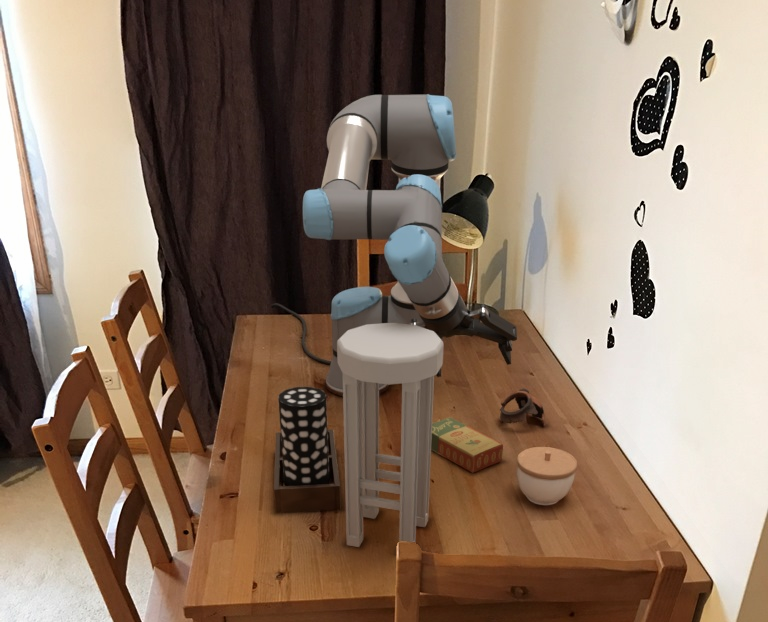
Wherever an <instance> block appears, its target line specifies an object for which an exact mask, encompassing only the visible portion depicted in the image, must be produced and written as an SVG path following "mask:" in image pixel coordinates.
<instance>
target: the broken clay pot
mask: <svg viewBox="0 0 768 622" xmlns="http://www.w3.org/2000/svg"><path fill="white" fill-rule="evenodd" d="M513 400H515V402H516V404H517V406H518V410H514V411H507V410H505V407H506V406H507V405H508V404H509V403H510V402H511V401H513ZM500 405H501V407H500V408H499V411H500V414H499V420H500V422H501V423H507V424H517V423H520V422H523V423H525V424H526V423H527V422H528V421H527V414H528V415H531V417H532V418H539V419H540V420H541V422H542V427H544V428H545V427H546V414H545V412H544V411H545V409H544V407H543V404H542V403H541V401H540V400H539V399H538V398H537V397H535V396H533V395H531V394H530V391H529V390H528V388H525V387H523V388H520V389H519V390H518V391H514V392H511V393H510V394H508V395H506V396H505V397H504V398H503V399H502V401H501V402H500Z"/></svg>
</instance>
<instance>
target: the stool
mask: <svg viewBox="0 0 768 622" xmlns="http://www.w3.org/2000/svg"><path fill="white" fill-rule="evenodd" d="M444 347H445V345H444V341H443V339H442V340H441V339H440V338H439V337H438V335H437V334H436V333H435V332H434V331H431V330H428V329H425V328H422V327H419V326H417V325H409V324H400V323H380V324H367V325H364V326H360V327H357V328H354V329H350V330H348V331H347V332H346V333H345V334H344V335H343V336H342V337H341V338H340V339H339V340H338V341H337V360H338V365H339V367H340V369H341V371H342V373H343V396H342V403H343V404H342V405H343V407H342V409H343V410H342V411H343V442H344V443H343V447H344V448H343V449H344V452H343V453H344V487H345V493H344V494H345V530H346V533H345V534H346V535H345V537H346V546H351V547H355V548H360V547H361V544H362V543H363V541H364V518H368V519H373V520H376V518H377V516H378V514H379V513H380V509H379V508H383V509H390V510H393V511H399V533H398V535H399V536H398V543H399V542H400V541H407V542H415V543H417V542H416V540H417V539H416V537H417V527H421V528H426V526H427V524H428V522H429V510H430V509H429V508H430V507H429V506H430V487H431V485H430V484H431V462H432V461H431V460H432V450H431V439H432V424H433V415H434V412H433V411H434V387H435V385H434V384H435V376H436V374H437V373H438V371H439V370H440V368H441V369H442V366H443V365H444ZM379 383H380V384H388V385H400V384H401V422H400V423H401V425H400V428H401V431H400V456H397V455H391V454H390V455H389V454H382V453H380V394H379ZM380 464H385V465H393V466H398V467H400V471H399V472H398V471H391V470H386V469H380ZM380 479H383V480H387V481H394V482H400V483H399V484H397V483H393V482H392V483H390V482H385V481H380ZM380 492H384V493H391V494H396V495H399V500H396V499H389V498H382V497H380Z"/></svg>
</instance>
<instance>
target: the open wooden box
mask: <svg viewBox="0 0 768 622" xmlns="http://www.w3.org/2000/svg"><path fill="white" fill-rule="evenodd" d="M334 432H335V431H334V429H328V455H329V481H332V483H330V484H319V485H300V486H284V485H283V486H282V483H283V484H284V472H283V458H282V444H281V431H280V432H275V447H274V449H275V451H274V481H273V482H274V483H273V493H274V505H275V513H276V514H280V513H281V514H284V513H301V512H302V513H303V512H320V511H335V510H336V511H338V510H341V484H340V476H339V467H338V458H337V450H336V449H337V448H336V441H335V440H336V439H335V433H334Z"/></svg>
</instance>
